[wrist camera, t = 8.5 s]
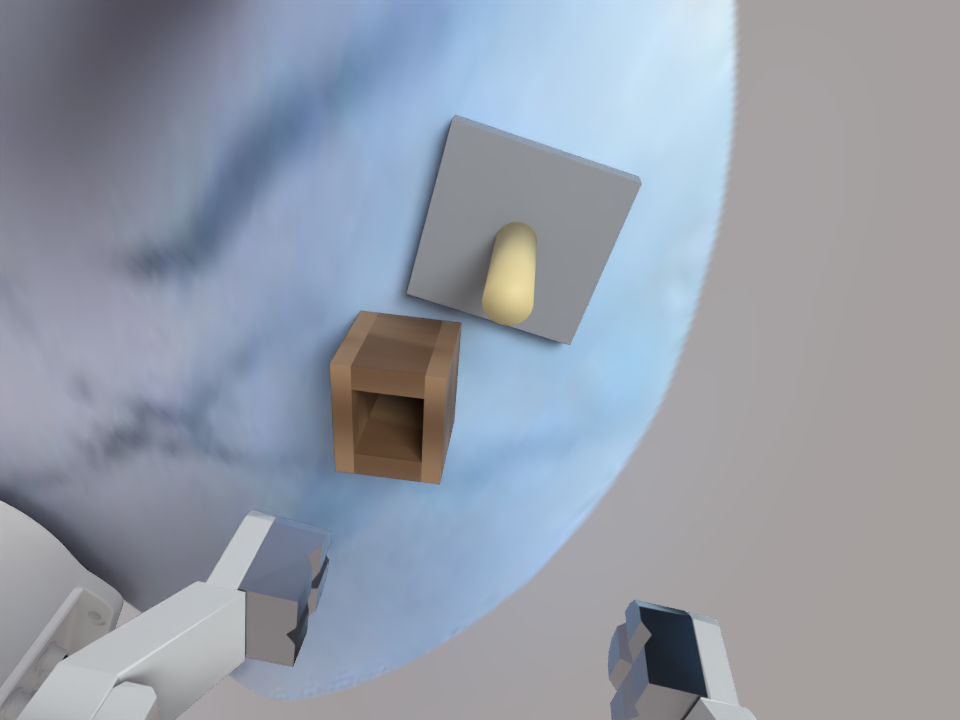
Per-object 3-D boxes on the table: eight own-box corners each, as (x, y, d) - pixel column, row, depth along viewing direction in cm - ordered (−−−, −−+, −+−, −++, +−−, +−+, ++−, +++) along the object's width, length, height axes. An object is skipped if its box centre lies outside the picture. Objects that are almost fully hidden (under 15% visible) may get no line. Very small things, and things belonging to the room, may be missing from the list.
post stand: (569, 334, 30) (573, 421, 24) (410, 284, 30) (374, 360, 24) (638, 176, 26) (664, 234, 20) (455, 115, 26) (425, 155, 20)
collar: (454, 420, 34) (439, 484, 29) (362, 409, 34) (335, 470, 30) (461, 322, 30) (446, 378, 26) (360, 310, 31) (329, 363, 26)
